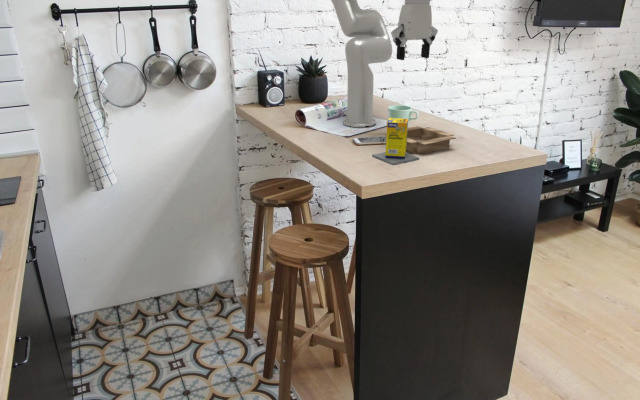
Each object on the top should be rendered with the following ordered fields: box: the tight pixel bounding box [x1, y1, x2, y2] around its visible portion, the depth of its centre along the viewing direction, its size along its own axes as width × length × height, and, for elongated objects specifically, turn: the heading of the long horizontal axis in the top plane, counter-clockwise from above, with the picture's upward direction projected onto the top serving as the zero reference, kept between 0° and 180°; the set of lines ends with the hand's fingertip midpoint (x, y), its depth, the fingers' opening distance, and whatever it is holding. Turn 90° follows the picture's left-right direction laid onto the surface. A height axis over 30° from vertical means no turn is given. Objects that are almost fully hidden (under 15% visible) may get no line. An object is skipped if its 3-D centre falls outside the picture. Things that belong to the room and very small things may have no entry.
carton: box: [406, 125, 457, 155], centre depth 168 cm, size 18×18×4 cm
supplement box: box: [385, 117, 409, 159], centre depth 155 cm, size 6×6×11 cm
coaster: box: [371, 151, 420, 166], centre depth 157 cm, size 10×10×1 cm
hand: (412, 58), depth 163 cm, fingers open, 9 cm apart
